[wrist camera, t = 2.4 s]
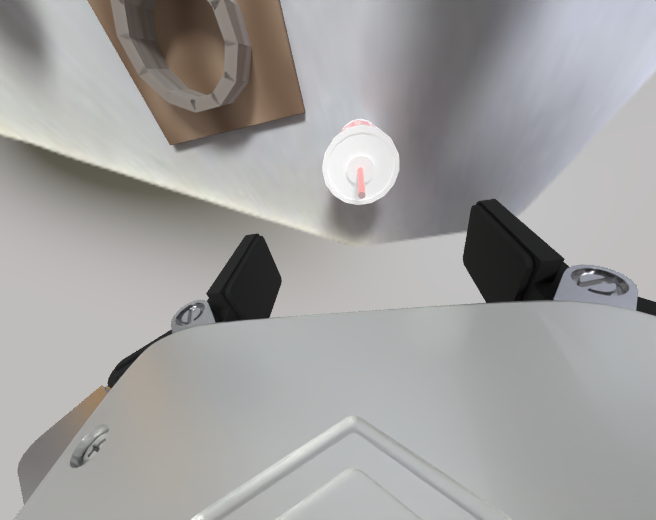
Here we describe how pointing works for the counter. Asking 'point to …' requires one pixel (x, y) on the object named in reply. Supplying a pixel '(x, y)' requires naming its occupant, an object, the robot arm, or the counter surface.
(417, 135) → the counter surface
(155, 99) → the coaster board
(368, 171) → the beverage cup
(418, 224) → the counter surface
